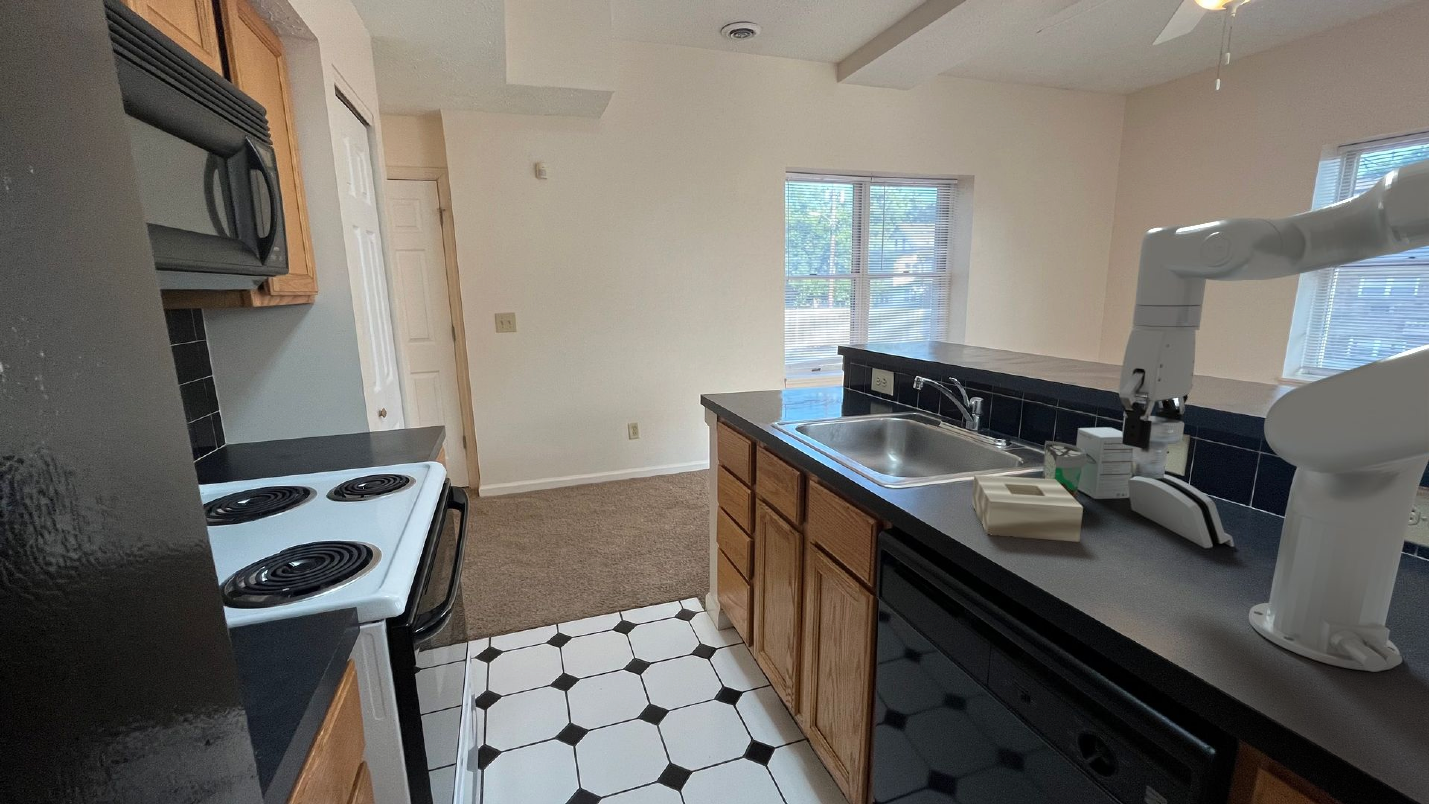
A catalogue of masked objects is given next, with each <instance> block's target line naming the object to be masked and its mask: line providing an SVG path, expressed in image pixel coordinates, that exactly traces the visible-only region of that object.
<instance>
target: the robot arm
mask: <svg viewBox="0 0 1429 804" xmlns="http://www.w3.org/2000/svg"><path fill="white" fill-rule="evenodd" d="M1426 247H1429V158H1427V159H1425V160H1423V159H1422V160H1420V161H1415V162H1414V163H1413V162H1412V163H1410V164H1407V165H1403V166H1399V167H1398V168H1395V169H1393V170H1391V171H1389V172H1388V173H1386V174H1384V175H1383V176H1382V177H1381V178H1380V179H1378V181H1377V182H1376V183H1375V184H1374V185H1373V186H1372V187H1370V188H1369V189H1367V190H1365V191H1364V192H1362V193H1360V194H1357V195H1355V196H1353V197H1350V198H1347V199H1344V200H1342V201H1338V202H1336V203H1333V204H1329V205H1326V206H1322V207H1319V208H1315V209H1312V210H1308V211H1304V212H1299V213H1297V214H1293V215H1290V216H1284V217H1280V218H1275V219H1274V218H1273V219H1271V218H1255V217H1254V218H1250V217H1249V218H1246V217H1231V218H1224V219H1219V220H1215V221H1211V222H1207V223H1203V224H1195V225H1193V224H1189V225H1188V224H1187V225H1186V224H1183V225H1170V226H1169V225H1167V226H1160V227H1155V228H1152V229H1149V230H1148V231H1146V232H1145V234H1144V236H1143V237H1142V241H1141V249H1140V257H1139V263H1138V264H1139V266H1138V267H1139V268H1138V272H1137V273H1138V274H1137V283H1136V292H1135V299H1134V300H1135V301H1134V309H1133V317H1132V326H1131V328H1132V329H1131V331H1130V333H1129V337H1128V340H1127V344H1126V348H1125V351H1124V355H1123V361H1122V366H1121V372H1120V379H1119V385H1118V395H1119V399H1120V401H1121V407H1122V409H1123V414H1122V415H1123V418H1124V417H1125V424H1124V432H1123V431H1122V432H1123V441H1122V442H1123V444H1124V445H1128V446H1133V447H1138V448H1142V449H1145V448H1148V447H1149V440H1150V432H1151V424H1152V421H1150V420H1148V419H1149V416H1151V413H1152V411H1153V409H1154V406H1155V404H1156V402H1157V403H1158V408H1159V410H1156V411H1155V416H1157V417H1165V418H1171V419H1175V420H1179V421H1182V422H1183V415H1184V412H1185V411H1186V405H1185V404H1186V403H1187V401H1188V398H1189V394H1190V392H1191V390H1192V388H1193V384H1194V383H1193V377H1194V372H1195V371H1194V369H1195V360H1196V331H1199V330H1200V328H1201V327H1200V326H1201V320H1202V313H1203V305H1204V297H1205V289H1206V282H1207V280H1208V281H1211V280H1212V281H1217V282H1218V281H1220V282H1222V281H1224V282H1225V281H1226V282H1231V281H1232V282H1235V281H1237V282H1238V281H1239V282H1240V281H1254V280H1255V281H1266V280H1273V279H1281V278H1286V277H1291V276H1296V275H1301V274H1305V273H1309V272H1310V273H1311V272H1315V271H1319V270H1325V269H1331V268H1334V267H1339V266H1344V265H1350V264H1352V263H1356V262H1361V261H1364V260H1366V261H1367V260H1370V259H1375V258H1378V257H1384V256H1389V255H1397V254H1401V253H1404V252H1409V251H1412V250H1415V249H1420V248H1426ZM1145 396H1146V397H1145ZM1141 404H1144V405H1143V407H1142V406H1141ZM1263 430H1264V431H1263V432H1264V437H1265V440H1266V442H1267V444H1268V446H1269V447H1270V449H1271V450H1272V451H1273V452H1274V453H1275V454H1276V455H1277V456H1278V457H1280V458H1281V459H1282V460H1284V461H1285V462H1287V463H1288V464H1290V465H1292V466H1295V467H1296V470H1295V472H1294V475H1293V478H1292V483H1291V486H1290V488H1289V489H1290V490H1289V496H1288V500H1287V505H1286V509H1285V515H1284V521H1283V525H1282V530H1281V534H1280V535H1281V536H1280V540H1279V541H1280V542H1279V547H1278V551H1277V558H1276V562H1275V566H1274V567H1275V569H1274V573H1273V579H1272V583H1271V584H1272V585H1271V589H1270V595H1269V600H1268V601H1269V602H1263V603H1258V604H1256V605H1254V606H1252V607H1251V608H1250V610H1249V613H1248V622H1249V623H1250V625H1251V627H1253V629H1255V631H1256V632H1257V633H1259V634H1260V635H1261V636H1262V637H1265V638H1266V639H1267V640H1269V641H1271V642H1272V643H1274V644H1276V645H1278V646H1279V647H1282V648H1283V649H1286V650H1288V651H1290V652H1293V653H1295V654H1298V655H1299V656H1303V657H1306V658H1308V659H1311V660H1314V661H1316V662H1317V661H1318V662H1321V663H1325V664H1327V665H1331V666H1335V667H1341V668H1345V669H1350V670H1356V671H1357V670H1358V671H1368V672H1373V673H1374V672H1376V673H1377V672H1381V671H1386V670H1391V669H1393V668H1395V667H1397V666H1398V665H1400V664H1401V663H1402V662H1403V657H1402V656H1401V655H1400V654H1401V653H1400V651H1399V648H1398V647H1397V646H1396V645H1395V644H1394V643H1393V641H1391V640H1390V639H1389V638H1390V636H1389V635H1390V632H1391V629H1389V628H1388V627H1386V621H1387V617H1388V612H1389V609H1390V608H1389V607H1390V605H1391V600H1392V596H1393V591H1394V588H1395V583H1396V579H1397V578H1396V577H1397V574H1398V569H1399V564H1400V561H1401V556H1402V552H1403V549H1404V543H1405V540H1406V536H1407V531H1408V529H1409V524H1410V520H1411V515H1412V513H1413V508H1414V503H1415V500H1416V497H1417V493H1418V489H1419V486H1420V484H1421V480H1422V478H1423V475H1424V472H1425V470H1426V467H1427V465H1428V462H1429V343H1427V344H1424V345H1419V346H1417V347H1414V348H1411V349H1409V350H1405V351H1401V352H1399V353H1395V354H1393V355H1391V356H1390V355H1389V356H1388V357H1384V358H1381V359H1378V360H1375V361H1371V362H1369V363H1366V364H1363V365H1359V366H1358V367H1354V368H1351V369H1348V370H1345V371H1342V372H1339V373H1336V374H1333V375H1329V376H1327V377H1326V376H1325V377H1324V378H1321V379H1317V380H1314V381H1312V382H1308V383H1306V384H1303V385H1300V386H1298V387H1295V388H1293V389H1290V390H1289V391H1287V392H1286V393H1284V394H1283V395H1282V396H1280V397H1279V398H1278V399H1277V400H1276V401H1275V402H1274V403H1273V404H1272V405H1271V407H1270V408H1269V409H1268V411H1267V414H1266V415H1265V419H1264V425H1263Z"/></svg>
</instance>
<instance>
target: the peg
mask: <svg viewBox="0 0 1429 804" xmlns="http://www.w3.org/2000/svg"><path fill="white" fill-rule="evenodd" d="M1148 420H1150V421H1152V424H1151V432H1150V440H1149V447H1148V448H1145V449H1142V448H1138V447H1133V453H1132V462H1131V471H1130V473H1131V474H1132V476H1139V477H1144V478H1154V479H1158V478H1163V477H1164V474H1165V472H1166V462H1167V455H1168V448H1169V445H1174V444H1175V445H1176V444H1180V443H1182V442H1183V438H1184V437H1183V436H1184V428H1185V423H1184V421H1183V420H1182V421H1179V420H1175V419H1171V418H1165V417H1157V416H1156V415H1150V416H1149V419H1148ZM1124 424H1125V417H1124V416H1123V425H1122V436H1123V432H1124Z"/></svg>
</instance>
